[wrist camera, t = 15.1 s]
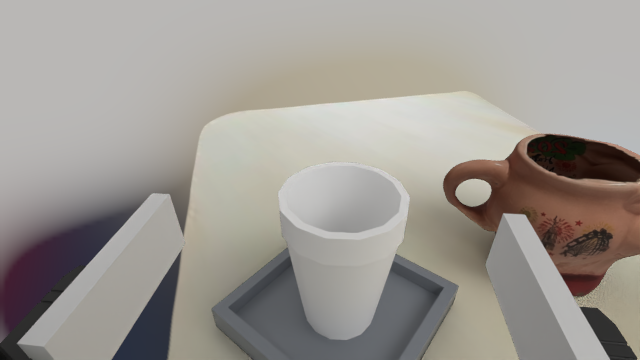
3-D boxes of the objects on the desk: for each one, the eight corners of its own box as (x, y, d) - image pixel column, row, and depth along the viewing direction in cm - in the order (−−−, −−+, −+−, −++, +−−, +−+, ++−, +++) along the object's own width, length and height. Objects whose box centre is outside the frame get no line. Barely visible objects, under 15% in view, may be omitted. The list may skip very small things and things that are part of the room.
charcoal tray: (324, 233, 42) (324, 217, 41) (453, 303, 34) (458, 286, 32) (216, 325, 32) (211, 308, 30) (363, 460, 23) (365, 445, 22)
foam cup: (270, 297, 33) (255, 185, 26) (346, 256, 37) (351, 151, 30) (328, 381, 26) (330, 262, 19) (412, 320, 31) (438, 204, 24)
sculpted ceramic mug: (435, 295, 34) (467, 178, 27) (425, 218, 44) (446, 117, 37) (661, 325, 31) (769, 203, 24) (595, 235, 42) (656, 129, 34)
